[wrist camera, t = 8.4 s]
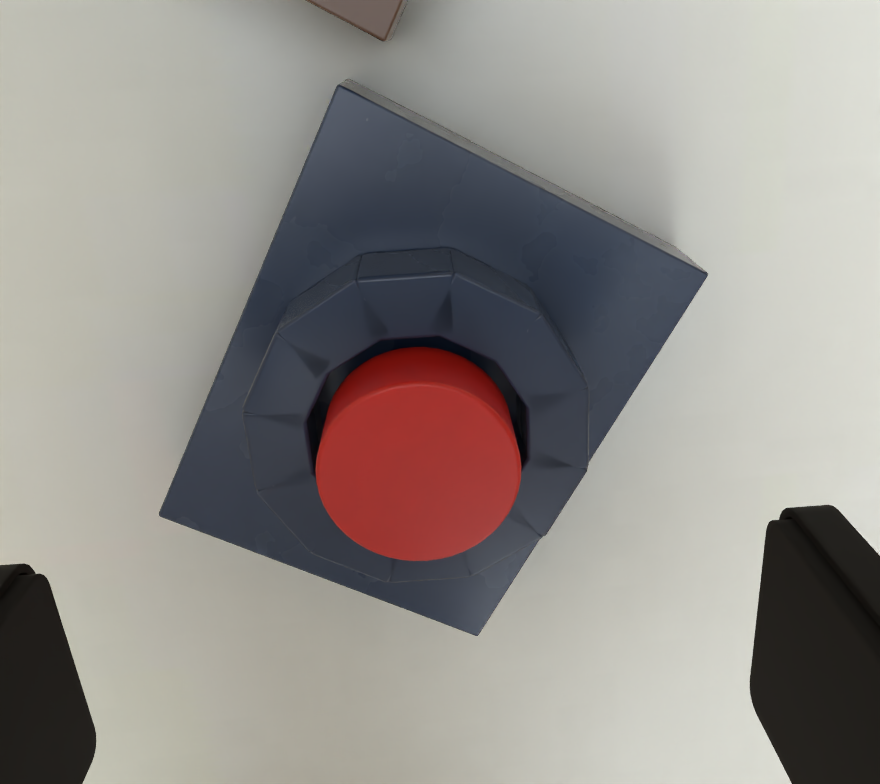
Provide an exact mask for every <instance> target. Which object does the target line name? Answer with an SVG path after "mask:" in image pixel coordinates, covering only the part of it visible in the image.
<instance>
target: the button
mask: <svg viewBox="0 0 880 784" xmlns="http://www.w3.org/2000/svg"><path fill="white" fill-rule="evenodd" d="M520 481H521V459H520V453H519V449H518V445H517V441H516V437H515V433H514V429H513V425H512V421H511V417H510V413H509V409H508V406H507V403H506V401H505V398H504V396H503V394H502V393H501V391H500V389H499V388H498V386H497V385H496V383H495V382H494V381H493V380H492V378H491V377H490V376H489V375H488V374H487V373H486V372H484V371H483V370H482V369H481V368H480V367H478V366H477V365H476V364H474V363H473V362H471V361H469V360H468V359H466V358H464V357H462V356H460V355H457V354H455V353H452V352H449V351H445V350H441V349H437V348H429V347H408V348H400V349H396V350H392V351H388V352H385V353H382V354H380V355H377V356H375V357H373V358H371V359H369V360H368V361H366V362H364V363H363V364H361V365H360V366H359V367H357V368H356V369H354V370H353V371H352V372H351V373H350V374H349V375H348V376H347V377H346V378H345V379H344V381H343V382H342V383H341V384H340V386H339V387H338V389H337V390H336V392H335V394H334V396H333V397H332V400H331V402H330V405H329V407H328V411H327V415H326V420H325V424H324V428H323V432H322V437H321V441H320V445H319V450H318V454H317V458H316V483H317V487H318V492H319V495H320V498H321V500H322V503H323V505H324V507H325V509H326V511H327V512H328V514H329V516H330V517H331V519H332V520H333V521H334V523H335V524H336V525H337V526H338V527H339V528H340V529H341V530H342V531H343V532H344V533H345V534H346V535H347V536H348V537H349V538H351V539H352V540H353V541H354V542H356V543H358V544H359V545H361V546H362V547H364V548H366V549H368V550H370V551H372V552H375V553H377V554H380V555H383V556H386V557H390V558H394V559H399V560H408V561H429V560H437V559H442V558H446V557H450V556H453V555H456V554H459V553H461V552H464V551H466V550H468V549H470V548H472V547H474V546H475V545H477V544H479V543H480V542H482V541H483V540H485V539H486V538H487V537H488V536H489V535H490V534H492V533H493V532H494V531H495V530H496V529H497V528H498V527H499V525H500V524H501V523H502V522H503V520H504V519H505V518H506V516H507V515H508V513H509V512H510V510H511V508H512V506H513V504H514V502H515V499H516V497H517V494H518V491H519V486H520Z"/></svg>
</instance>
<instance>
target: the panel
mask: <svg viewBox="0 0 880 784" xmlns="http://www.w3.org/2000/svg"><path fill="white" fill-rule="evenodd" d="M306 1H308V2H310V3H311V4H313V5H315V6H317V7H319V8H321V9H323V10H325V11H327V12H328V13H330V14H332V15H334V16H336V17H338V18H340V19H342V20H343V21H345V22H347V23H349V24H351V25H353V26H355V27H357V28H359V29H360V30H362V31H364V32H366V33H368V34H370V35H372V36H374V37H376V38H377V39H379V40H381V41H388V40H391V38H392V36H393V34H394V31H395V29H396V27H397V24H398V22H399V20H400V17H401V15H402V13H403V10H404V8H405V6H406V4H407V1H408V0H306Z"/></svg>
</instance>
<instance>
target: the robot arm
mask: <svg viewBox="0 0 880 784" xmlns="http://www.w3.org/2000/svg"><path fill="white" fill-rule="evenodd" d="M750 694H751V699H752V703H753V706H754V709H755V711H756V714H757V716H758V718H759V720H760V722H761V724H762V726H763V728H764V729H765V731H766V733H767V735H768V737H769V739H770V741H771V743H772V745H773V747H774V749H775V751H776V753H777V755H778V757H779V759H780V761H781V763H782V765H783V767H784V769H785V771H786V773H787V775H788V777H789V779H790V781H791V783H792V784H880V556H879V555H878V553H877V552H876V551H875V550H874V549H873V548H872V547H871V546H870V545H869V543H868V542H867V541H866V540H865V539H864V538H863V537H862V536H861V535H860V534H859V532H858V531H857V530H856V529H855V528H854V527H853V526H852V525H851V524H850V523H849V521H848V520H847V519H846V518H845V517H844V516H843V515H842V514H841V513H840V511H839V510H838V509H836V508H835V507H834V506H831V505H821V506H807V507H794V508H786V509H784V510H783V511H782V513H781V515H780V518H779V520H772V521H770V522H769V524H768V526H767V530H766V537H765V546H764V556H763V565H762V574H761V583H760V592H759V602H758V611H757V620H756V629H755V638H754V647H753V657H752V666H751V675H750ZM95 749H96V732H95V727H94V724H93V721H92V718H91V715H90V711H89V708H88V705H87V702H86V699H85V695H84V692H83V689H82V686H81V683H80V680H79V676H78V673H77V670H76V667H75V664H74V660H73V657H72V654H71V651H70V648H69V644H68V641H67V638H66V635H65V632H64V629H63V625H62V622H61V619H60V616H59V613H58V609H57V606H56V603H55V600H54V597H53V594H52V590H51V587H50V584H49V582H48V580H47V578H46V577H45V576H44V575H42V574H35V572H34V570H33V569H32V568H31V567H30V565H27V564H12V565H0V784H82V783H83V781H84V779H85V776H86V774H87V772H88V770H89V767H90V765H91V763H92V760H93V757H94V754H95Z"/></svg>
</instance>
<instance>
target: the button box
mask: <svg viewBox="0 0 880 784" xmlns="http://www.w3.org/2000/svg"><path fill="white" fill-rule="evenodd" d="M707 276H708V273H707V272H706V271H704V270H703V269H702V268H701V267H700V266H698V265H697V264H696V263H695V262H693V261H692V260H691V259H690V258H688V257H687V256H686V255H685V254H684V253H682V252H681V251H680V250H679V249H677V248H676V247H675V246H673V245H671V244H669V243H667V242H665V241H663V240H661V239H659V238H657V237H655V236H653V235H651V234H649V233H647V232H645V231H644V230H642V229H640V228H638V227H636V226H634V225H632V224H630V223H628V222H626V221H624V220H622V219H620V218H618V217H616V216H614V215H613V214H611V213H609V212H607V211H605V210H603V209H601V208H599V207H597V206H595V205H593V204H591V203H589V202H587V201H585V200H583V199H581V198H580V197H578V196H576V195H574V194H572V193H570V192H568V191H566V190H564V189H562V188H560V187H558V186H556V185H554V184H552V183H550V182H548V181H547V180H545V179H543V178H541V177H539V176H537V175H535V174H533V173H531V172H529V171H527V170H525V169H523V168H521V167H519V166H517V165H515V164H514V163H512V162H510V161H508V160H506V159H504V158H502V157H500V156H498V155H496V154H494V153H492V152H490V151H488V150H486V149H484V148H482V147H481V146H479V145H477V144H475V143H473V142H471V141H469V140H467V139H465V138H463V137H461V136H459V135H457V134H455V133H453V132H451V131H449V130H448V129H446V128H444V127H442V126H440V125H438V124H436V123H434V122H432V121H430V120H428V119H426V118H424V117H422V116H420V115H418V114H416V113H415V112H413V111H411V110H409V109H407V108H405V107H403V106H401V105H399V104H397V103H395V102H393V101H391V100H389V99H387V98H385V97H384V96H382V95H380V94H378V93H376V92H374V91H372V90H370V89H368V88H366V87H364V86H362V85H360V84H358V83H356V82H354V81H352V80H351V79H346V80H345V81H343V82H342V83H340V84H339V85H337V87H336V89H335V91H334V94H333V96H332V99H331V101H330V103H329V106H328V108H327V111H326V113H325V115H324V118H323V120H322V123H321V125H320V127H319V130H318V132H317V135H316V137H315V140H314V142H313V144H312V147H311V149H310V152H309V154H308V156H307V159H306V161H305V164H304V166H303V168H302V171H301V173H300V176H299V178H298V180H297V183H296V185H295V188H294V190H293V192H292V195H291V197H290V200H289V202H288V204H287V207H286V209H285V212H284V214H283V216H282V219H281V221H280V224H279V226H278V228H277V231H276V233H275V236H274V238H273V240H272V243H271V245H270V248H269V250H268V252H267V255H266V257H265V260H264V262H263V264H262V267H261V269H260V272H259V274H258V276H257V279H256V281H255V284H254V286H253V288H252V291H251V293H250V296H249V298H248V300H247V303H246V305H245V308H244V310H243V312H242V315H241V317H240V320H239V322H238V324H237V327H236V329H235V332H234V334H233V336H232V339H231V341H230V344H229V346H228V348H227V351H226V353H225V356H224V358H223V361H222V363H221V365H220V368H219V370H218V373H217V375H216V377H215V380H214V382H213V385H212V387H211V389H210V392H209V394H208V397H207V399H206V401H205V404H204V406H203V409H202V411H201V413H200V416H199V418H198V421H197V423H196V425H195V428H194V430H193V433H192V435H191V437H190V440H189V442H188V445H187V447H186V449H185V452H184V454H183V457H182V459H181V461H180V464H179V466H178V469H177V471H176V473H175V476H174V478H173V481H172V483H171V485H170V488H169V490H168V493H167V495H166V497H165V500H164V502H163V505H162V507H161V509H160V512H159V516H160V517H163V518H166V519H168V520H171V521H174V522H176V523H179V524H181V525H184V526H187V527H189V528H192V529H195V530H197V531H200V532H203V533H205V534H208V535H211V536H213V537H216V538H219V539H221V540H224V541H226V542H229V543H232V544H234V545H237V546H240V547H242V548H245V549H248V550H250V551H253V552H256V553H258V554H261V555H264V556H266V557H269V558H271V559H274V560H277V561H279V562H282V563H285V564H287V565H290V566H293V567H295V568H298V569H301V570H303V571H306V572H309V573H311V574H314V575H317V576H319V577H322V578H324V579H327V580H330V581H332V582H335V583H338V584H340V585H343V586H346V587H348V588H351V589H354V590H356V591H359V592H362V593H364V594H367V595H369V596H372V597H375V598H377V599H380V600H383V601H385V602H388V603H391V604H393V605H396V606H399V607H401V608H404V609H407V610H409V611H412V612H414V613H417V614H420V615H422V616H425V617H428V618H430V619H433V620H436V621H438V622H441V623H444V624H446V625H449V626H452V627H454V628H457V629H459V630H462V631H465V632H467V633H470V634H473V635H475V636H478V635H479V633H480V632H481V630H482V629H483V627H484V625H485V624H486V622H487V621H488V619H489V618H490V616H491V614H492V613H493V611H494V610H495V608H496V607H497V605H498V603H499V602H500V600H501V599H502V597H503V596H504V594H505V593H506V591H507V589H508V588H509V586H510V585H511V583H512V582H513V580H514V578H515V577H516V575H517V574H518V572H519V571H520V569H521V567H522V566H523V564H524V563H525V561H526V560H527V558H528V556H529V555H530V553H531V552H532V550H533V549H534V547H535V545H536V544H537V542H538V541H539V539H541V538H542V537H543V536H545V535H546V534H547V532H548V531H549V529H550V528H551V526H552V525H553V523H554V522H555V520H556V518H557V517H558V515H559V514H560V512H561V511H562V509H563V507H564V506H565V504H566V503H567V501H568V500H569V498H570V497H571V495H572V493H573V492H574V490H575V489H576V487H577V486H578V484H579V482H580V481H581V479H582V478H583V476H584V475H585V473H586V472H587V467H588V464H589V461H590V459H591V458H592V456H593V455H594V453H595V451H596V450H597V448H598V447H599V445H600V444H601V442H602V440H603V439H604V437H605V436H606V434H607V433H608V431H609V430H610V428H611V426H612V425H613V423H614V422H615V420H616V419H617V417H618V415H619V414H620V412H621V411H622V409H623V408H624V406H625V404H626V403H627V401H628V400H629V398H630V397H631V395H632V393H633V392H634V390H635V389H636V387H637V386H638V384H639V383H640V381H641V379H642V378H643V376H644V375H645V373H646V372H647V370H648V368H649V367H650V365H651V364H652V362H653V361H654V359H655V357H656V356H657V354H658V353H659V351H660V350H661V348H662V346H663V345H664V343H665V342H666V340H667V339H668V337H669V335H670V334H671V332H672V331H673V329H674V328H675V326H676V325H677V323H678V321H679V320H680V318H681V317H682V315H683V314H684V312H685V310H686V309H687V307H688V306H689V304H690V303H691V301H692V299H693V298H694V296H695V295H696V293H697V292H698V290H699V288H700V287H701V285H702V284H703V282H704V281H705V279H706V278H707ZM408 347H429V348H437V349H441V350H445V351H449V352H452V353H455V354H457V355H460V356H462V357H464V358H466V359H468V360H469V361H471V362H473V363H474V364H476V365H477V366H478V367H480V368H481V369H482V370H483V371H484V372H486V373H487V374H488V375H489V376H490V377H491V378H492V380H493V381H494V382H495V383H496V385H497V386H498V388H499V389H500V391H501V393H502V394H503V396H504V398H505V401H506V403H507V406H508V409H509V413H510V417H511V421H512V425H513V429H514V433H515V437H516V441H517V445H518V449H519V453H520V459H521V481H520V486H519V491H518V494H517V497H516V499H515V502H514V504H513V506H512V508H511V510H510V512H509V513H508V515H507V516H506V518H505V519H504V520H503V522H502V523H501V524H500V525H499V527H498V528H497V529H496V530H495V531H494V532H493V533H492V534H490V535H489V536H488V537H487V538H486V539H485V540H483V541H482V542H480V543H479V544H477V545H475V546H474V547H472V548H470V549H468V550H466V551H464V552H461V553H459V554H456V555H453V556H450V557H446V558H442V559H437V560H429V561H408V560H399V559H394V558H390V557H386V556H383V555H380V554H377V553H375V552H372V551H370V550H368V549H366V548H364V547H362V546H361V545H359V544H358V543H356V542H354V541H353V540H352V539H351V538H349V537H348V536H347V535H346V534H345V533H344V532H343V531H342V530H341V529H340V528H339V527H338V526H337V525H336V524H335V523H334V521H333V520H332V519H331V517H330V516H329V514H328V512H327V511H326V509H325V507H324V505H323V503H322V500H321V498H320V495H319V492H318V487H317V483H316V458H317V454H318V450H319V445H320V441H321V437H322V432H323V428H324V424H325V420H326V415H327V411H328V407H329V405H330V402H331V400H332V397H333V396H334V394H335V392H336V390H337V389H338V387H339V386H340V384H341V383H342V382H343V381H344V379H345V378H346V377H347V376H348V375H349V374H350V373H351V372H352V371H353V370H354V369H356V368H357V367H359V366H360V365H361V364H363V363H364V362H366V361H368V360H369V359H371V358H373V357H375V356H377V355H380V354H382V353H385V352H388V351H392V350H396V349H400V348H408Z"/></svg>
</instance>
